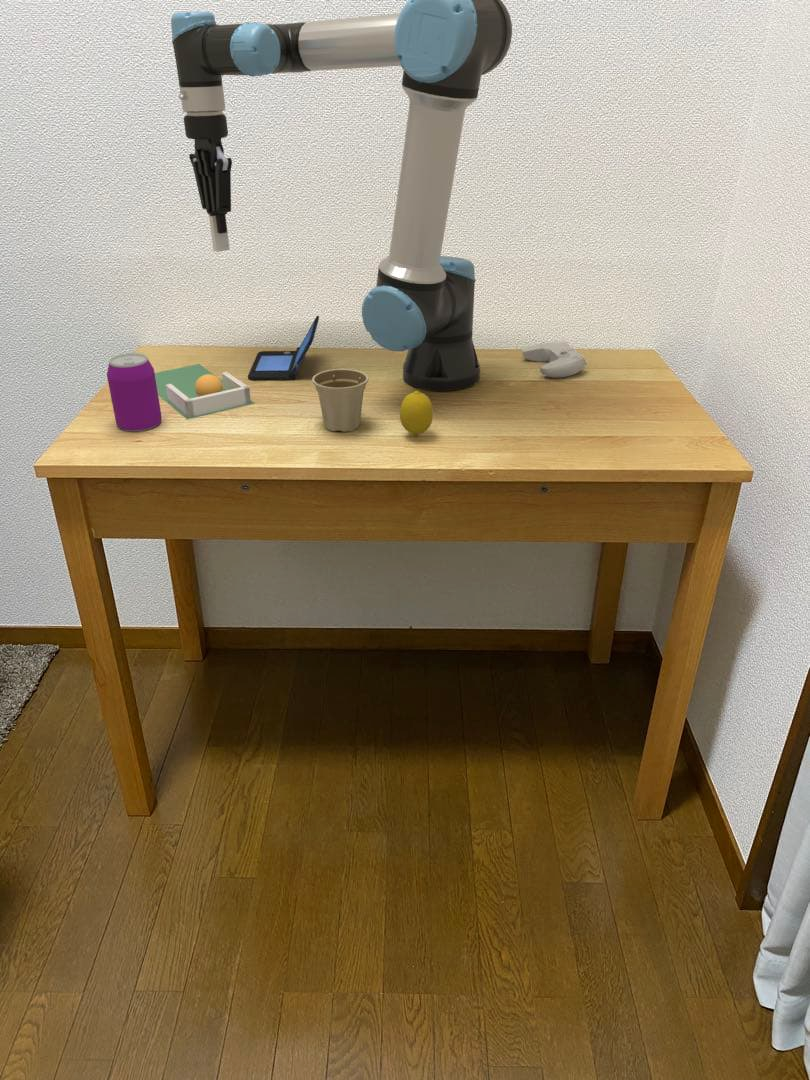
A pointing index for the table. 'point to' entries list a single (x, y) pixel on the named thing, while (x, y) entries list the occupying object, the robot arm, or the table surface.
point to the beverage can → (133, 392)
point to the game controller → (555, 359)
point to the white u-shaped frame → (211, 398)
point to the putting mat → (184, 383)
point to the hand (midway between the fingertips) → (221, 250)
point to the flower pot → (341, 397)
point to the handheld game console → (281, 361)
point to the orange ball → (208, 385)
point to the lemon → (416, 413)
